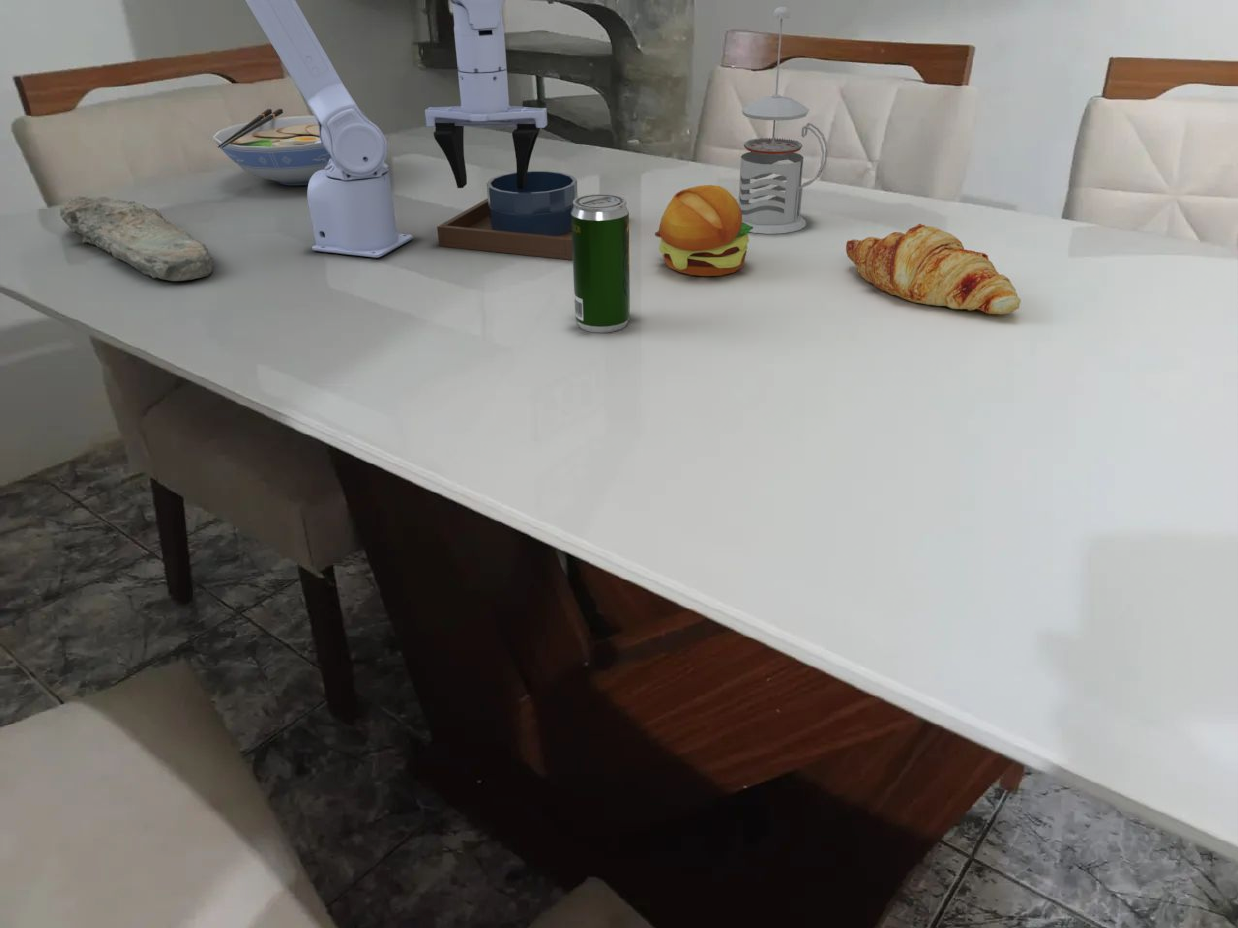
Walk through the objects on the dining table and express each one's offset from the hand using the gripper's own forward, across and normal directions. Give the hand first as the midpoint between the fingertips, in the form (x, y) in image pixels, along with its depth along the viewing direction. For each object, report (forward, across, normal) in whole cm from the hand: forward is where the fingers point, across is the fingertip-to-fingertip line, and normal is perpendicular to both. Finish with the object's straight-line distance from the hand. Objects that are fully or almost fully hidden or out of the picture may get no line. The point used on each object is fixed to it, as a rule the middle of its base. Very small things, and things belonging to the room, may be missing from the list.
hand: (492, 186), depth 116 cm
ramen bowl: (+6, -36, +23) cm, 43 cm away
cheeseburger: (+6, +27, -12) cm, 30 cm away
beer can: (+6, +18, -30) cm, 35 cm away
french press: (+6, +35, +5) cm, 36 cm away
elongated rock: (+6, -42, -11) cm, 44 cm away
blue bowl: (+5, +5, 0) cm, 7 cm away
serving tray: (+5, +5, -1) cm, 8 cm away
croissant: (+6, +50, -19) cm, 54 cm away
